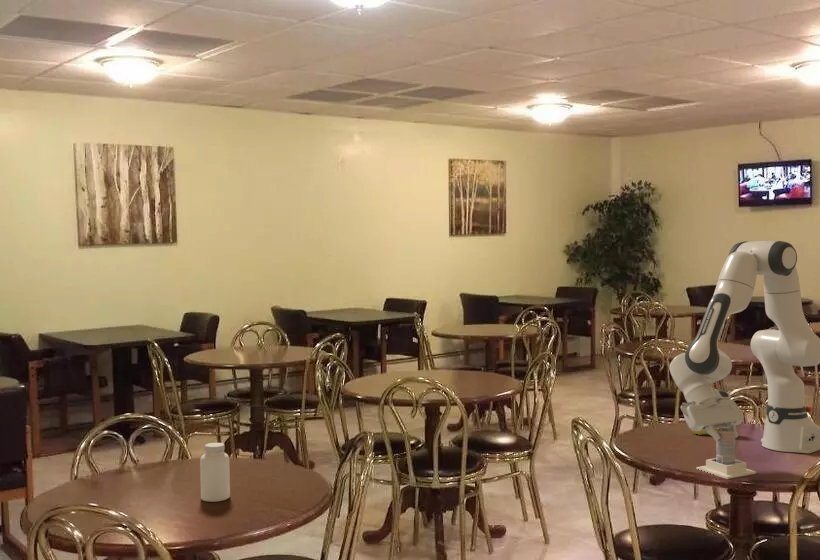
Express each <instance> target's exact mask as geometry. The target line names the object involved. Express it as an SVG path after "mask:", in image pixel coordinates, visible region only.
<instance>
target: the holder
mask: <svg viewBox="0 0 820 560" xmlns="http://www.w3.org/2000/svg"><path fill="white" fill-rule="evenodd" d="M695 469H696V470H698V469H699V470H698V471H701V470H702V472H704V471H705V472H704V473H707V472H708V473H707V474H710V473H711V475H713V474H714V475H713V476H716V477H720V478H723V479H724V480H725V479H726V480H730V479H735V478H740V477H745V476H750V475H756V474H757V471H756V470H752V469H749V468H747V462H745V461H744V460H743V461H742V460H739V459H736V458H735V464H730V465H725V464H721V463H718V462H716V457H714V458H708V459H705V465H700V466H696V467H695Z"/></svg>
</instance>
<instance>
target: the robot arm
mask: <svg viewBox="0 0 820 560" xmlns="http://www.w3.org/2000/svg"><path fill="white" fill-rule="evenodd" d="M797 261H798V253H797V250H796V249H795V247H794V246H793V245H792V244H791V243H789V242H786V241H782V240H777V241H775V240H762V239H761V240H755V241H740V242H737V243H735V244H734V245H733V246H731V248H730V250H729V251H728V256H727V257H726V259H725V261H724V263H723V266H722V268H721V270H720V273H719V276H718V279H717V283H716V286H715V289H714V291H713V292H714V293H713V294H712V295H713V296H712V297H711V299H710V301H709V303H708V304H707V308H705V309H706V310H705V313H704V315H703V318H702V320H701V322H700V326H699V327H698V328H699V329H698V331H697V333H696V335H695V337H694V339H693V340H692V341H691V342H690V344H689V345H688V347H687V349H686V350H685V352H682V353H679V354H677V355H676V356H675V357H673V359H672V360H671V362H669V363H670V364H669V371H670V375H671V377H672V379H673V381H674V383H675V385H676V387H677V388H678V389H679V390H680V391H681V392H682V394H683V396H684V399H685V401H686V402H682V404H681V405H680V410H681V412H682V414H683V417H684V420H685V422H686V424H687V426H688V428H689V429H690V430H691V431H692V430H693V431H700V430H706V432H707V433H708V434H707V435H709V436H710V437H712V438H713V439H714V441H715V442H716V441H720V440H721V439H722V436H721V435H720V433H717V432H716V431H715V430H714V428H718V429H719V428H728V429H733V430H735V439H737V438H738V437H739V433H738V431H737V427H736V426H739V425H740V424H741V423H742V422H743V421H744V420H745V416H744V414H743V412H742V410H741V409H740V407H739V405H738V404H737V403H736V402H735V401H734V400H733V399H731V397H732V396H731V394H730V393H729V391H726V390H725V391H724V390H721V389H716V388H713V387H712V385H713V384H716V383H718V382H720V381H721V380H724V379H726V378H727V377H729V375H730V374H731V372H732V369H733V361H732V358H731V357H730V356H729V354H727V353H725V352H724V351H723V350H721V349H720V348H719V344H718V342H719V340H720V337H721V333H722V331H723V329H724V326H725V323H726V320H727V319H728V317H730V316H731V315H733V314H737V313H738V314H739V313H741V312H743V311H744V310H746V309H747V307H748V306H749V304H750V302H751V301H752V297H753V294H754V291H755V287H756V286H755V285H756V283H757V276H763V281H762V282H763V295H764V296H763V297H764V308H765V314H766V316H767V318H768V319H770V320H771V321H772V322H773V323H774V324H775V325H776V327H777V329H773V328H772V329H771V328H770V329H763V330H761V329H760V330H757V331H756V332H755V333H754V334H753V336H752V338H751V340H750V350H751V352H752V354H753V356H754V357H756V359H758V361H759V362H760V364H761V366H762V368H763V371H764V373H765V377H766V381H767V404H766V408H765V415H766V418H765V419H764V426H763V427H764V428H763V436H762V437H761V438H760V442H761V446H762V447H763V448H765V449H769V450H772V451H777V452H787V453H801V454H811V453H814V452H815V453H816V452H819V451H820V426H819V425H817V424H816V423H815V422H814V421H813V420H811V419H810V418H809V415H808V413H809V414H812V413H813V410H814V408H813V406H808V405H806V406H805V384H804V381H803V380H802V379H801V378H800V377H799V376H798V375H797V374H796V372H795V370H794V368H793V366H795V367H801V368H802V367H804V368H805V367H815V366H818V365H819V364H820V337H819V336H818V335H816V333H815V332H813V330H812V328H811V327H810V325H809V324H808V323H809V322H807V321H808V320H807V319H806V317H805V314H804V310H803V305H802V303H803V302H802V296H801V293H802V292H801V283H800V277H799V273H798V268H797V266H796V265H797Z"/></svg>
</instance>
